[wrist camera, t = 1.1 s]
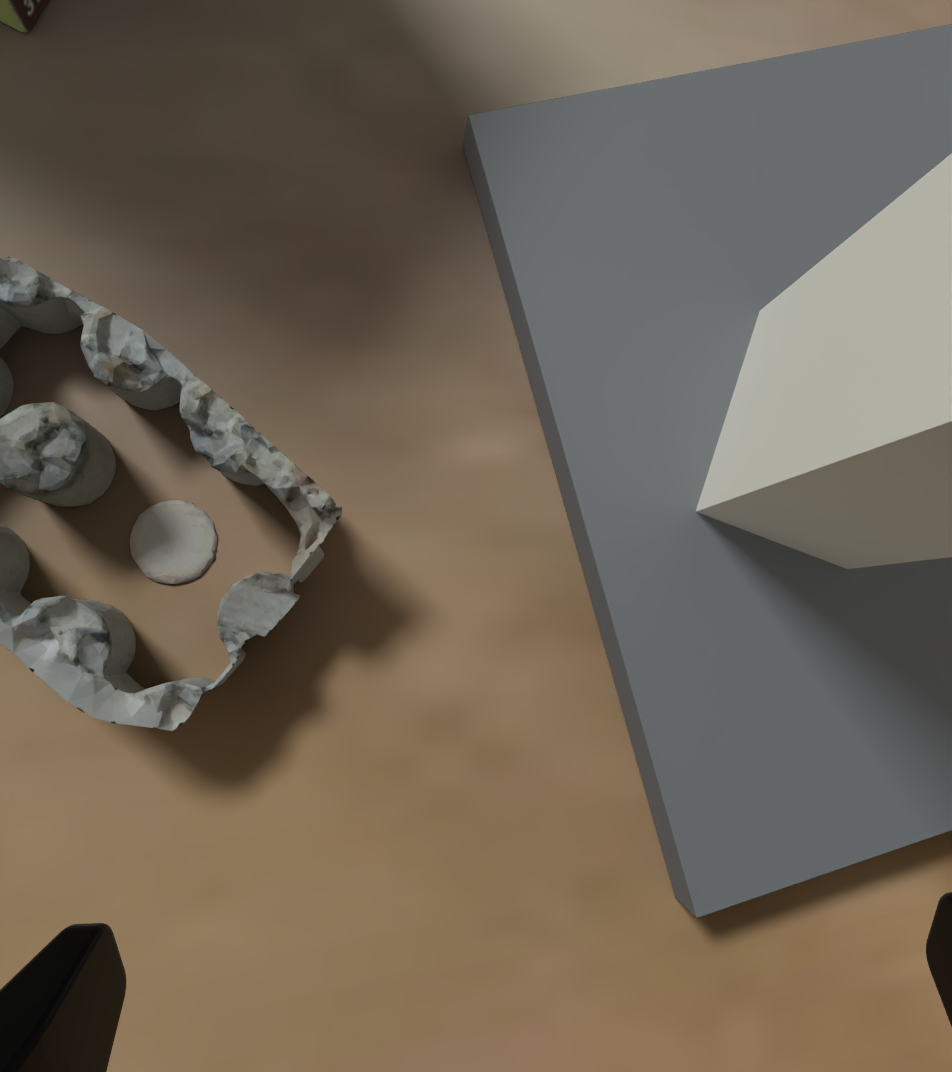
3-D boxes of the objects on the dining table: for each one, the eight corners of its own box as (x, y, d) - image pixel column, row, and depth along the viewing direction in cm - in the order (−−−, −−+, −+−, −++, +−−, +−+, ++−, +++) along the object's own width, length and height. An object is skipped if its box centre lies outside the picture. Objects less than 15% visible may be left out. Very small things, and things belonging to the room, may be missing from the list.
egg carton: (366, 531, 23) (365, 512, 19) (177, 746, 22) (133, 775, 18) (69, 276, 23) (3, 201, 19) (-139, 480, 21) (-258, 447, 17)
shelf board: (1178, 727, 25) (1308, 744, 21) (675, 898, 22) (730, 948, 19) (954, 51, 26) (1041, -36, 23) (462, 146, 24) (477, 66, 21)
